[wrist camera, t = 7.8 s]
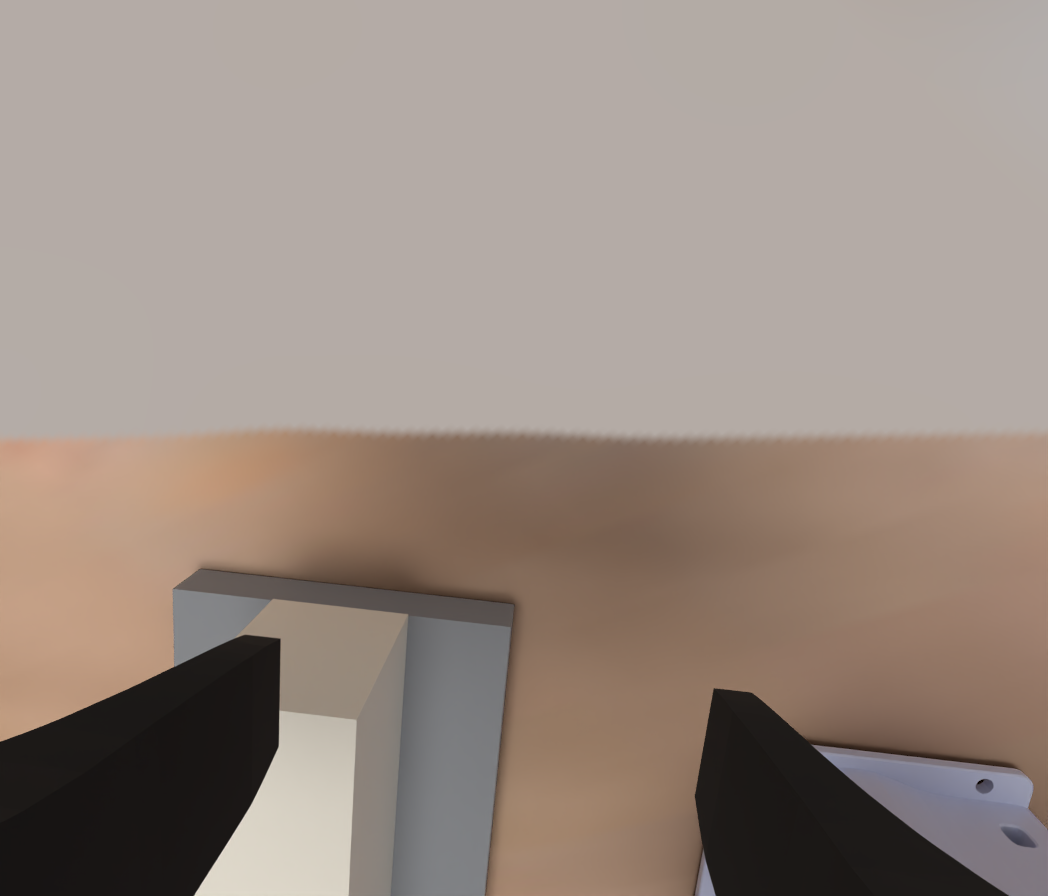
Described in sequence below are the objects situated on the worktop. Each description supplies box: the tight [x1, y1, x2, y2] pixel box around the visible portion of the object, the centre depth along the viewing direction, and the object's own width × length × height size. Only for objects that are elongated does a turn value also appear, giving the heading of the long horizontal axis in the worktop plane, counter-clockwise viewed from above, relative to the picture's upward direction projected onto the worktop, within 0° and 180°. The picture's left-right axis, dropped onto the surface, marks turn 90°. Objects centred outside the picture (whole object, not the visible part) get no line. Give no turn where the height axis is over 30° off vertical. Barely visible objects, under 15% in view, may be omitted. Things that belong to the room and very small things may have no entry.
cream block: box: [194, 599, 408, 896], centre depth 18 cm, size 4×11×5 cm, turn 174°
